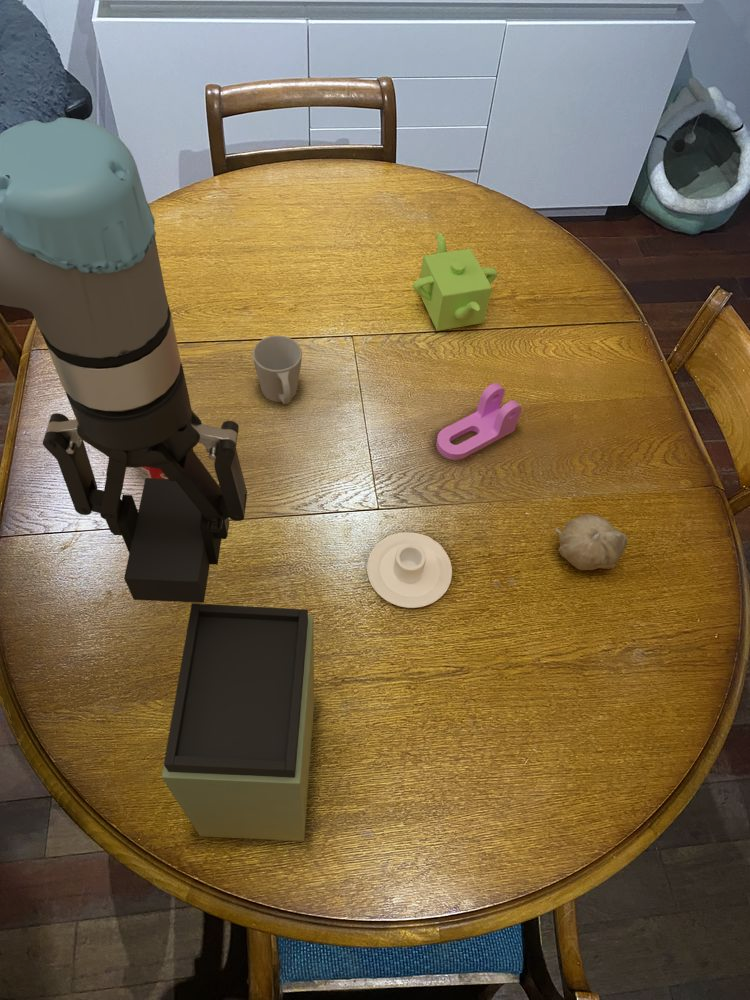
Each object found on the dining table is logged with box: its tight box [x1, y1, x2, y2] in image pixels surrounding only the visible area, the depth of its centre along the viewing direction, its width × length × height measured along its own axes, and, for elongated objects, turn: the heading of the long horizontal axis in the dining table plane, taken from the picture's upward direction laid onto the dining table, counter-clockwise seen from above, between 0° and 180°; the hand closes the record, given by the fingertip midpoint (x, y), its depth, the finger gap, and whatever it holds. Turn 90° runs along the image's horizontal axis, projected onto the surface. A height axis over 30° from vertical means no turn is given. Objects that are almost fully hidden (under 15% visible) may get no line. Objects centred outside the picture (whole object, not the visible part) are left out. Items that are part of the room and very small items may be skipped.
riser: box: [161, 615, 315, 842], centre depth 84 cm, size 12×16×27 cm
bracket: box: [435, 382, 523, 461], centre depth 122 cm, size 13×6×7 cm, turn 124°
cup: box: [252, 335, 303, 405], centre depth 124 cm, size 8×10×8 cm
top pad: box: [123, 478, 211, 604], centre depth 68 cm, size 10×6×4 cm, turn 179°
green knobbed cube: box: [412, 232, 499, 332], centre depth 136 cm, size 15×13×11 cm
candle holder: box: [366, 531, 453, 609], centre depth 109 cm, size 12×12×4 cm
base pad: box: [163, 602, 309, 778], centre depth 71 cm, size 11×15×2 cm
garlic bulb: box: [554, 513, 628, 571], centre depth 110 cm, size 9×8×10 cm
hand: (177, 549), depth 70 cm, fingers closed on top pad, 6 cm apart
